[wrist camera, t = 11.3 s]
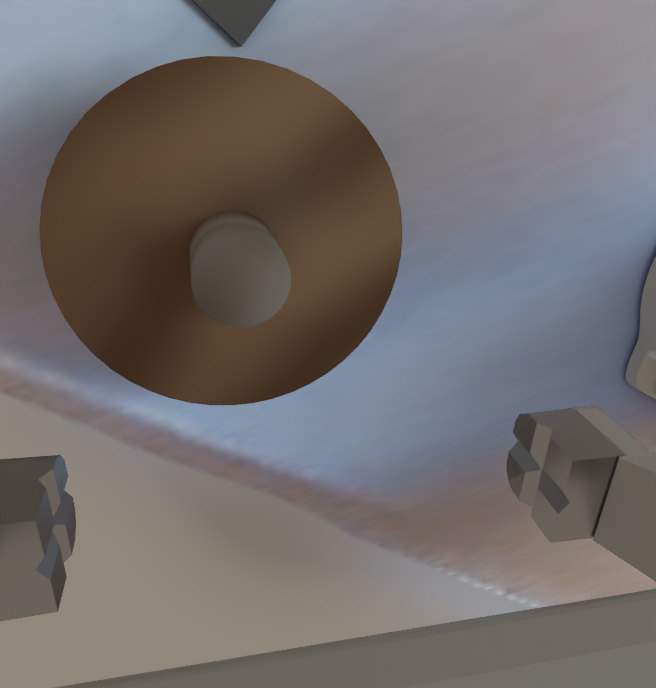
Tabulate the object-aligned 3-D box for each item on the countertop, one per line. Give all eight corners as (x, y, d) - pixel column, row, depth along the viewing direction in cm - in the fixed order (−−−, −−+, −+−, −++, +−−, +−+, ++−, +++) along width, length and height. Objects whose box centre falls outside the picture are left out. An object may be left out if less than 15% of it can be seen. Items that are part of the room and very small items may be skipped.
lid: (456, 219, 24) (504, 248, 20) (256, 441, 26) (269, 500, 23) (194, -41, 18) (199, -63, 15) (-30, 276, 21) (-71, 322, 17)
